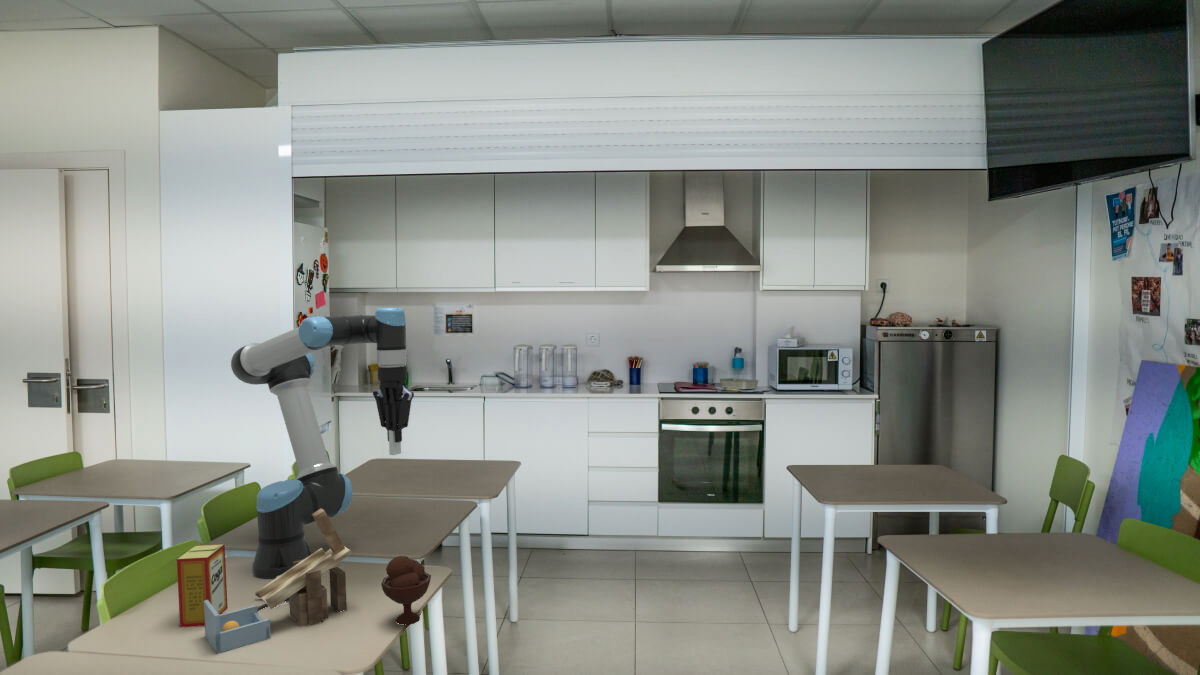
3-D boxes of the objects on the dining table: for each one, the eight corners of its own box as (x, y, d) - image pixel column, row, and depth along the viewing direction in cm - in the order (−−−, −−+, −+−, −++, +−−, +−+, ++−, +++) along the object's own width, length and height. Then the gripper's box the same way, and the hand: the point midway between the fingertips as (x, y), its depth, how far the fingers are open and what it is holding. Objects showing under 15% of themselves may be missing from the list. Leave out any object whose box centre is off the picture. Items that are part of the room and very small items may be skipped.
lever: (340, 546, 176) (318, 505, 172) (351, 553, 170) (329, 511, 167) (262, 599, 164) (236, 557, 161) (271, 609, 159) (245, 566, 155)
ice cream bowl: (420, 632, 159) (417, 565, 158) (373, 628, 161) (371, 562, 160) (440, 611, 169) (438, 548, 168) (396, 608, 171) (394, 546, 171)
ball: (221, 640, 157) (216, 626, 156) (235, 630, 160) (230, 616, 159) (230, 642, 155) (225, 628, 154) (245, 632, 158) (240, 618, 157)
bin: (257, 622, 166) (255, 587, 165) (270, 637, 157) (269, 601, 157) (205, 636, 159) (203, 600, 158) (216, 653, 151) (215, 616, 150)
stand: (335, 600, 177) (333, 552, 176) (350, 613, 169) (349, 563, 168) (288, 613, 170) (286, 563, 169) (302, 628, 162) (300, 575, 161)
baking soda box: (210, 625, 164) (206, 556, 164) (180, 627, 164) (176, 557, 163) (227, 607, 174) (224, 542, 173) (199, 609, 173) (195, 543, 172)
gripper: (420, 365, 191) (423, 453, 192) (385, 364, 198) (388, 449, 199) (399, 367, 185) (402, 459, 186) (363, 366, 191) (367, 454, 192)
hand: (395, 454), depth 192 cm, fingers closed
